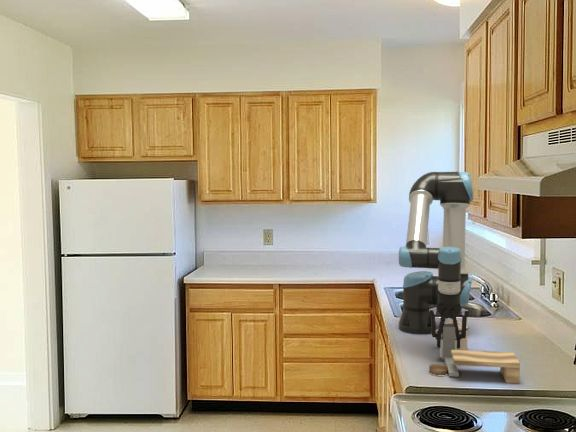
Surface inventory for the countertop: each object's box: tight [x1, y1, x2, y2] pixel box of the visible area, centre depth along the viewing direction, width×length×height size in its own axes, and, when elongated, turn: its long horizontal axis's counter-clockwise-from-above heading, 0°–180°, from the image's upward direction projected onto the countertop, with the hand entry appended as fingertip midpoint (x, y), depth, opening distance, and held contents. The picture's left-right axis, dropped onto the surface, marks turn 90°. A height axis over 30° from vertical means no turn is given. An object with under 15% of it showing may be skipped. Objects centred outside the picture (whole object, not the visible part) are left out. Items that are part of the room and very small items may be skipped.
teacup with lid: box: [435, 317, 469, 350], centre depth 215 cm, size 12×9×12 cm
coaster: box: [428, 363, 449, 376], centre depth 194 cm, size 6×6×2 cm
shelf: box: [451, 349, 521, 384], centre depth 191 cm, size 10×20×6 cm, turn 80°
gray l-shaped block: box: [441, 324, 460, 378], centre depth 198 cm, size 18×4×12 cm, turn 171°
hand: (448, 356), depth 206 cm, fingers closed on gray l-shaped block, 4 cm apart
